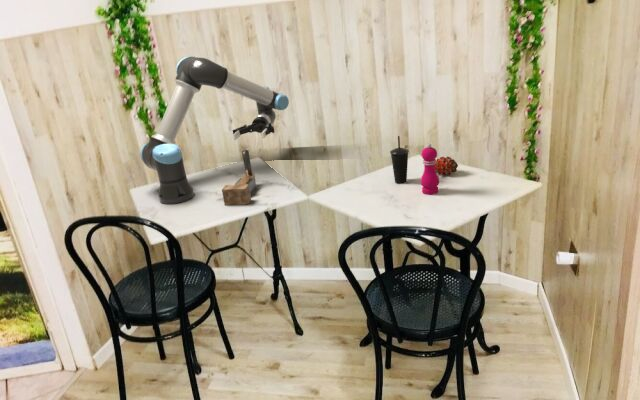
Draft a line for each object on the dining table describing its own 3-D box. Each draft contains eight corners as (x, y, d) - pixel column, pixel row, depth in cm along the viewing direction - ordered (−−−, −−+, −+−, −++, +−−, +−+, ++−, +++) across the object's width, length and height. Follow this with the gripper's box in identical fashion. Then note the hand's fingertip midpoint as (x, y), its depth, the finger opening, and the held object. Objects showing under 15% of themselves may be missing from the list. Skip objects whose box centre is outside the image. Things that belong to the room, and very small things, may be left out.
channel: (234, 197, 225) (232, 186, 223) (242, 188, 234) (240, 177, 232) (249, 196, 224) (248, 185, 222) (256, 187, 233) (254, 177, 231)
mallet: (236, 194, 223) (230, 161, 218) (247, 181, 237) (241, 150, 231) (245, 194, 223) (239, 161, 217) (255, 181, 236) (250, 149, 230)
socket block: (224, 205, 218) (221, 189, 215) (228, 200, 222) (225, 185, 220) (247, 204, 216) (244, 188, 213) (251, 199, 220) (248, 184, 218)
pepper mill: (439, 195, 204) (438, 146, 196) (420, 195, 205) (419, 147, 198) (439, 188, 210) (438, 140, 203) (421, 188, 212) (419, 141, 204)
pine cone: (460, 179, 221) (432, 181, 226) (460, 162, 225) (432, 165, 231) (456, 168, 215) (427, 171, 220) (456, 151, 219) (428, 154, 224)
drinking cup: (411, 184, 217) (409, 138, 210) (392, 185, 218) (390, 139, 210) (408, 177, 224) (406, 132, 217) (390, 179, 225) (388, 134, 217)
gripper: (286, 129, 256) (276, 142, 237) (238, 132, 261) (224, 145, 242) (284, 114, 253) (273, 126, 234) (235, 117, 258) (221, 130, 239)
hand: (248, 136), depth 238 cm, fingers open, 13 cm apart
